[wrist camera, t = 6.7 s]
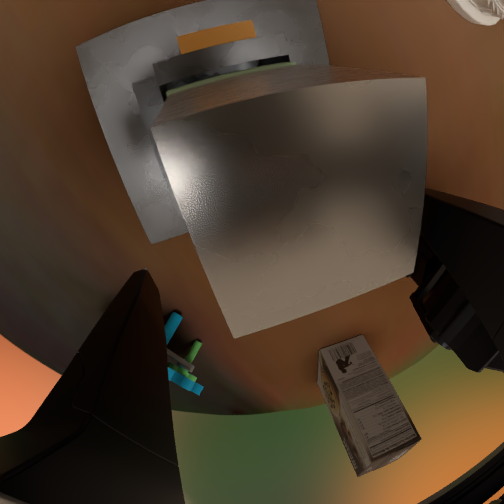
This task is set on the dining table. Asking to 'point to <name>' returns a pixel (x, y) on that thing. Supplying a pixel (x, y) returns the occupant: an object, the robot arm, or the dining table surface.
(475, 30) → the dining table surface
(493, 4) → the decorative container
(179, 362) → the blue angular plastic piece
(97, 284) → the dining table surface
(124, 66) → the stand
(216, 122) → the block
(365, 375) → the coffee box
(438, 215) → the robot arm
